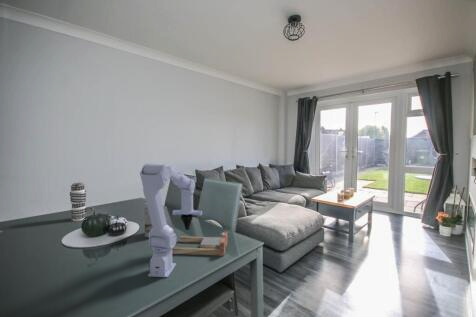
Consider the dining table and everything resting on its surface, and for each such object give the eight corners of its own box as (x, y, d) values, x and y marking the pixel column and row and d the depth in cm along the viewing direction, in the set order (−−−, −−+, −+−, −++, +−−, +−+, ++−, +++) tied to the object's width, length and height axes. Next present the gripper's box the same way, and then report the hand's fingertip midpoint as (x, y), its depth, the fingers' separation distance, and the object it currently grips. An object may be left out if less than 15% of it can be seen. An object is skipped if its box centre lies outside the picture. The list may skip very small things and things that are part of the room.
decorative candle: (72, 217, 154) (71, 182, 152) (88, 216, 158) (87, 181, 156) (69, 222, 146) (67, 184, 144) (85, 220, 149) (84, 183, 148)
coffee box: (155, 238, 121) (154, 209, 120) (144, 237, 122) (143, 208, 121) (163, 231, 130) (163, 204, 129) (153, 230, 131) (153, 204, 130)
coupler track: (223, 256, 101) (223, 243, 101) (170, 253, 103) (170, 241, 103) (227, 242, 116) (227, 231, 115) (181, 240, 118) (180, 229, 117)
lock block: (221, 253, 105) (221, 245, 104) (200, 252, 105) (200, 244, 105) (223, 245, 113) (223, 237, 112) (204, 244, 113) (204, 237, 113)
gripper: (203, 200, 112) (203, 226, 113) (175, 200, 113) (176, 225, 114) (200, 204, 105) (200, 232, 106) (170, 203, 106) (171, 231, 107)
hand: (187, 229), depth 109 cm, fingers closed
